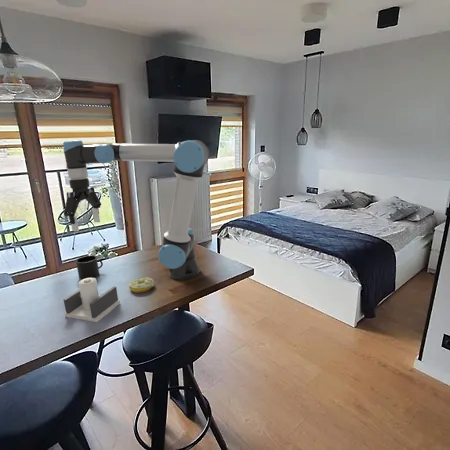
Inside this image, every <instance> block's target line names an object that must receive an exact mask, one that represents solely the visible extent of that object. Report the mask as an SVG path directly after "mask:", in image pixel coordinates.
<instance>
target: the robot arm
mask: <svg viewBox="0 0 450 450" xmlns="http://www.w3.org/2000/svg"><path fill="white" fill-rule="evenodd" d="M62 146H63V153H64V158H65V163H66V169H67V174H68V178H69V180H68V181H69V187H70V188H71V190H72V191H66V201H65V208H64V213H63V216H64V217H65V216H66V217H68V219H69V224H70V225H71V230H72V232H79V231H80V229H79V224H78V223H79V222H78V218H77V215H76V212H77V210H78V207H79V204H81V202H82V201H84V200H86V201H87V203H89V205H90V206H91V207H92V208H91V211H92V218H93V223H100V222H101V219H100V210H99V209H100V208H101V206H102V202H101V199H99V197H98V195H97V194H96V192H95V188H94V186H90V180H89V178H88V177H89V173H88V168H87V164H89V165H90V164H109V163H112V162H115V161H117V162H120V161H121V162H122V161H123V162H127V161H128V162H129V161H130V162H168V163H170V162H171V163H173V162H174V167H173V174H174V175H175V176H176V178H175V179H176V181H175V187H174V193H173V198H172V204H171V210H170V215H169V221H168V222H169V223H168V230H166V231H165V232H164V233H163V237H162V244H161V247H160V248H159V250H158V253H157V257H158V258H157V259H158V260H159V262H160V263H161V265H163V266H164V267H166V268H167V269H168V276H169V277H170V278H171V279H173V280H177V281H181V280H183V281H185V280H191V279H194V278H195V276H196V277H197V276H199V275H200V273H201V270H200V265H199V263H198V259H197V258H196V251H195V250H196V248H195V237H194V236H195V233H194V230H193V228H191V227H190V224H191V221H192V220H191V218H192V214H193V209H194V208H193V207H194V202H195V197H196V192H197V186H198V182H199V180H201V179H202V178H203V173H204V169H205V165H206V164H207V163H208V160H209V157H210V150H209V148H208V146H207V145H206V144H205V142H203V141H201V140H198V139H192V140H191V139H187V140H184V141H178V142H177V143H172V144H171V143H117V142H115V143H114V142H110V143H101V144H100V143H99V144H84V143H83V140H80V139H79V140H78V139H77V140H65V141H63V144H62ZM199 272H200V273H199ZM198 274H199V275H198ZM193 277H194V278H193Z"/></svg>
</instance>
